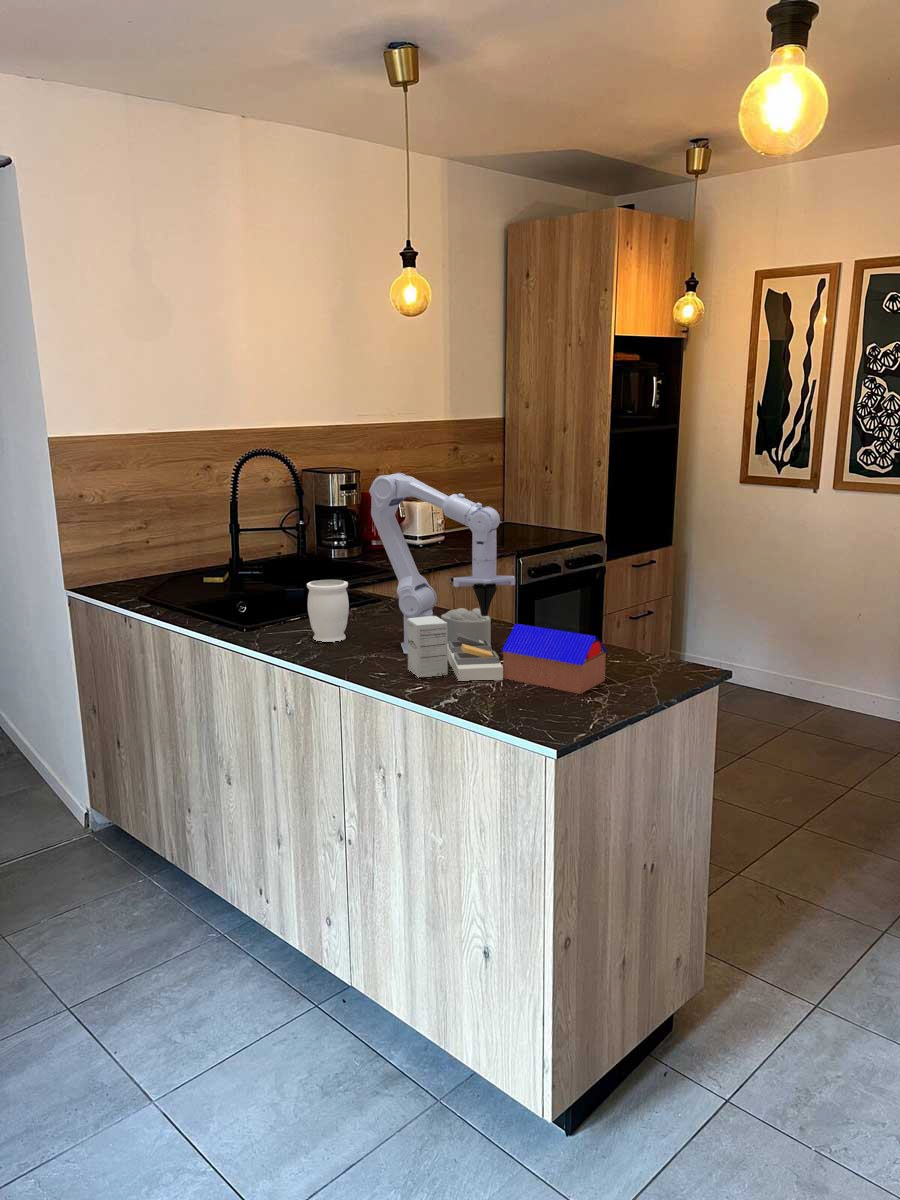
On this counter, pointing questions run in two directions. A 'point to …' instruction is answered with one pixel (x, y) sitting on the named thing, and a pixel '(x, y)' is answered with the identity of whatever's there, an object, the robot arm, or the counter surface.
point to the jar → (328, 609)
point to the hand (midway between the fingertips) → (484, 615)
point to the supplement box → (427, 646)
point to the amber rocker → (476, 651)
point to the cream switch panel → (473, 663)
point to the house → (554, 658)
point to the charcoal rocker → (469, 640)
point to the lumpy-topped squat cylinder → (467, 624)
